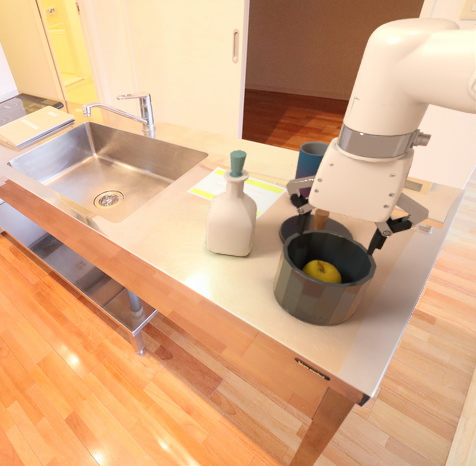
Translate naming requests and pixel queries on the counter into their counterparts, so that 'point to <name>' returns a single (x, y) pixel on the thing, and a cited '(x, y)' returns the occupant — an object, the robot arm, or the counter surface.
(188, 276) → the counter surface
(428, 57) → the robot arm
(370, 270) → the pot
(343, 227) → the lid
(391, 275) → the counter surface
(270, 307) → the counter surface
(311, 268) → the apple
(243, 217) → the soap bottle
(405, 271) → the counter surface
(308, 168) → the cup
